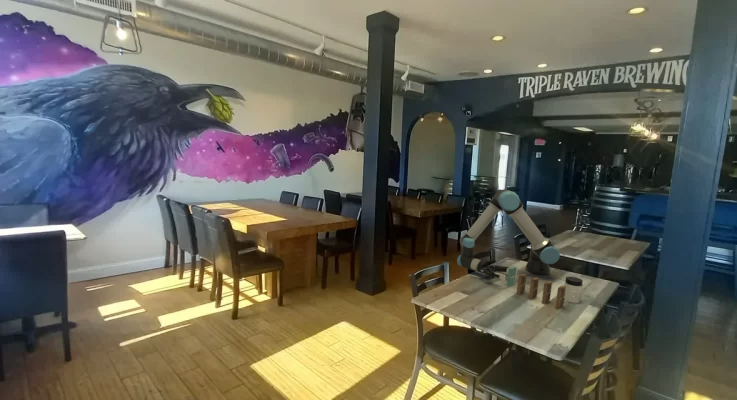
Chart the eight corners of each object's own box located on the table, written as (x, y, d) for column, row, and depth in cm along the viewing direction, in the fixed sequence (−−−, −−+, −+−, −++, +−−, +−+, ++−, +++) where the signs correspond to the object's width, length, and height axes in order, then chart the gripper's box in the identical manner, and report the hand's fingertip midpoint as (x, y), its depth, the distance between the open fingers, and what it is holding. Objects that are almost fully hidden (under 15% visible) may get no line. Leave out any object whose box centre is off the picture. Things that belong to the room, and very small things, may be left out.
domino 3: (546, 300, 198) (548, 281, 197) (549, 301, 197) (552, 282, 195) (541, 303, 194) (543, 283, 193) (544, 304, 193) (547, 284, 191)
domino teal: (511, 283, 221) (513, 266, 220) (514, 284, 220) (516, 267, 218) (506, 285, 217) (508, 268, 216) (509, 286, 216) (511, 268, 215)
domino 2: (533, 296, 204) (535, 277, 202) (536, 297, 202) (539, 278, 201) (528, 298, 200) (530, 279, 198) (531, 299, 198) (534, 280, 197)
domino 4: (559, 305, 193) (562, 285, 192) (563, 306, 192) (566, 286, 190) (555, 307, 189) (557, 287, 188) (558, 309, 188) (561, 288, 186)
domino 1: (521, 292, 209) (523, 273, 207) (524, 293, 207) (526, 274, 206) (516, 294, 205) (518, 275, 203) (519, 295, 203) (521, 276, 202)
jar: (563, 301, 198) (566, 280, 197) (560, 295, 206) (563, 275, 204) (582, 304, 196) (585, 282, 194) (578, 298, 203) (581, 277, 202)
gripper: (489, 268, 242) (520, 277, 226) (467, 275, 226) (499, 286, 210) (490, 257, 241) (521, 266, 225) (469, 263, 225) (500, 273, 209)
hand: (511, 275), depth 218 cm, fingers open, 13 cm apart
